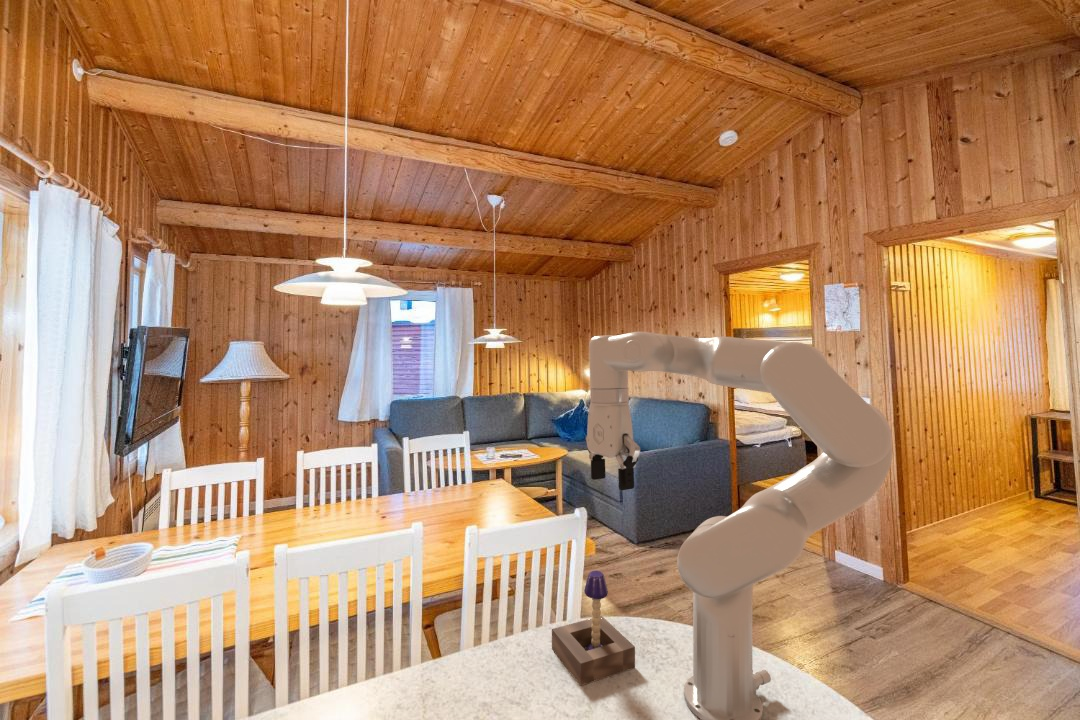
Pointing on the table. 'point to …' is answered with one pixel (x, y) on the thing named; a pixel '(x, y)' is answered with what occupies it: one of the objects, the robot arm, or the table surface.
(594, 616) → the toy lamp
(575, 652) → the socket block
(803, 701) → the table surface
